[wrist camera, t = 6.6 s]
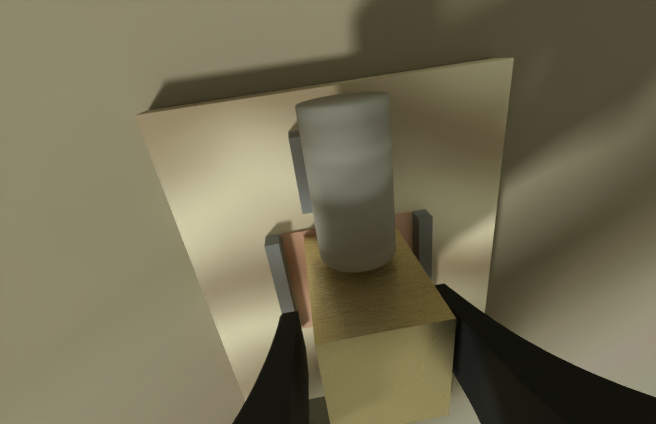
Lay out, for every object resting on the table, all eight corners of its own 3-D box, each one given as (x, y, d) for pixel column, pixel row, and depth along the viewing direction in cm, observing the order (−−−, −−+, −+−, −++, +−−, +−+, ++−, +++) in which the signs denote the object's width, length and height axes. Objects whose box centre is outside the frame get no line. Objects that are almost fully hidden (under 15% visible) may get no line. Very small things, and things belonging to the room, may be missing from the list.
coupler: (395, 297, 16) (449, 414, 11) (316, 311, 16) (333, 438, 11) (392, 220, 14) (456, 318, 9) (303, 235, 14) (314, 344, 9)
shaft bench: (468, 349, 21) (520, 431, 16) (251, 392, 20) (241, 491, 15) (495, 57, 13) (606, 58, 9) (147, 110, 12) (68, 140, 8)
